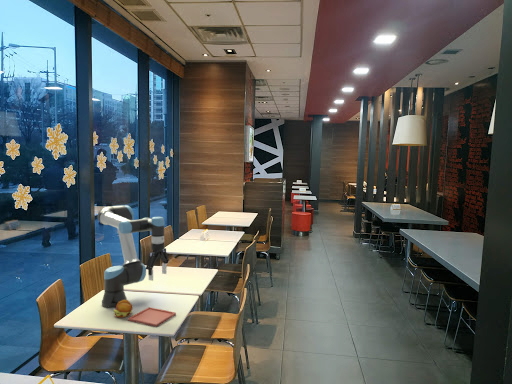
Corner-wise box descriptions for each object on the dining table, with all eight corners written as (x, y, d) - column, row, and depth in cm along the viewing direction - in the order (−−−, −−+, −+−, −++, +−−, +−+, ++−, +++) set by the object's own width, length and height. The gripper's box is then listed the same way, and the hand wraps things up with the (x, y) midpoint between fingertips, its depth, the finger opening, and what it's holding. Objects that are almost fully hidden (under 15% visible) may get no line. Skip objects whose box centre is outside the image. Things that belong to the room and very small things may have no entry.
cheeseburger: (125, 309, 227) (127, 295, 225) (135, 318, 221) (137, 303, 219) (110, 314, 219) (112, 299, 217) (119, 323, 213) (121, 308, 211)
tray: (128, 320, 211) (128, 318, 211) (149, 309, 228) (148, 307, 228) (156, 326, 204) (156, 324, 203) (175, 314, 220) (175, 312, 220)
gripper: (150, 247, 209) (150, 284, 211) (174, 239, 232) (174, 271, 234) (139, 246, 212) (139, 282, 214) (164, 238, 235) (164, 270, 237)
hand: (157, 276), depth 224 cm, fingers open, 13 cm apart
